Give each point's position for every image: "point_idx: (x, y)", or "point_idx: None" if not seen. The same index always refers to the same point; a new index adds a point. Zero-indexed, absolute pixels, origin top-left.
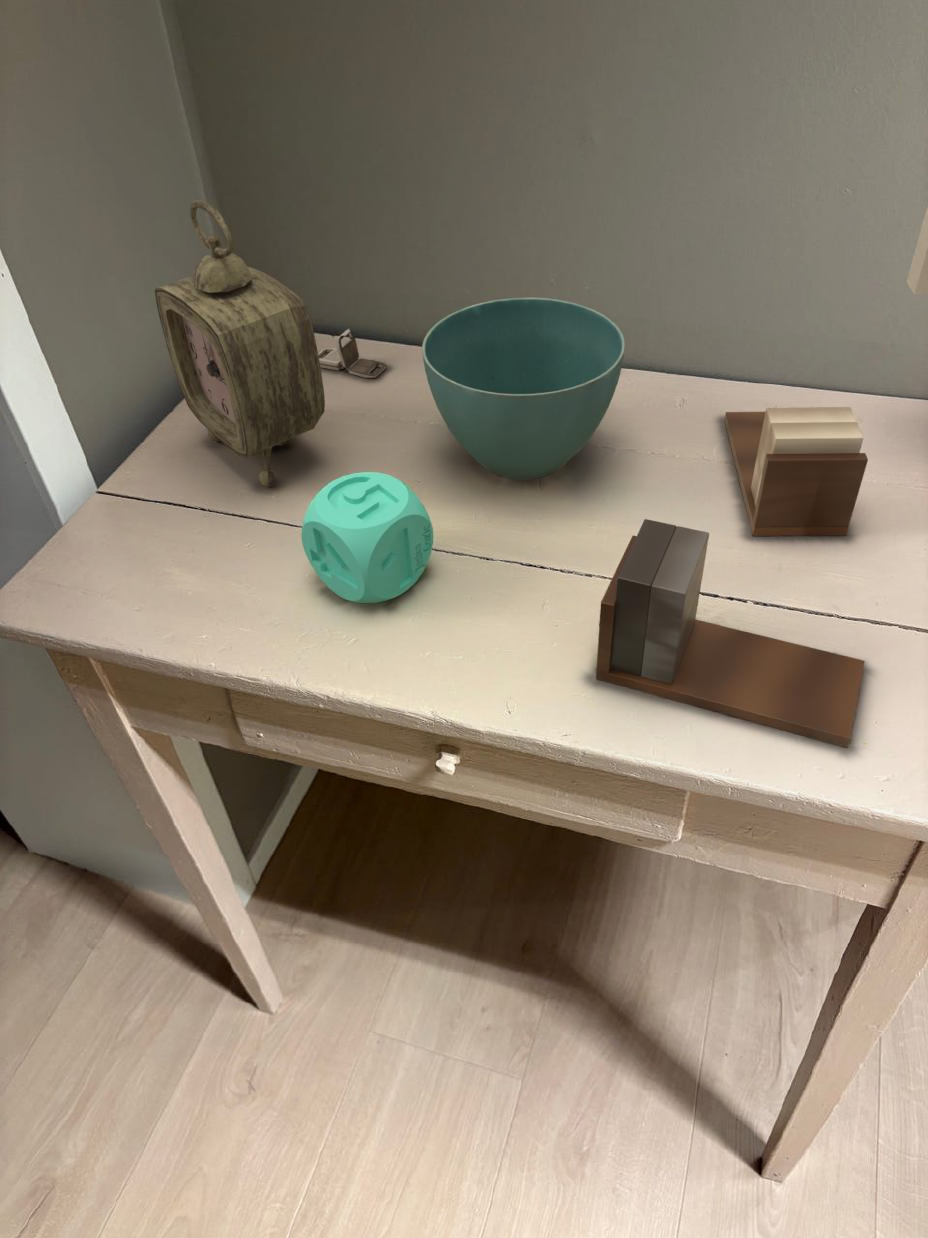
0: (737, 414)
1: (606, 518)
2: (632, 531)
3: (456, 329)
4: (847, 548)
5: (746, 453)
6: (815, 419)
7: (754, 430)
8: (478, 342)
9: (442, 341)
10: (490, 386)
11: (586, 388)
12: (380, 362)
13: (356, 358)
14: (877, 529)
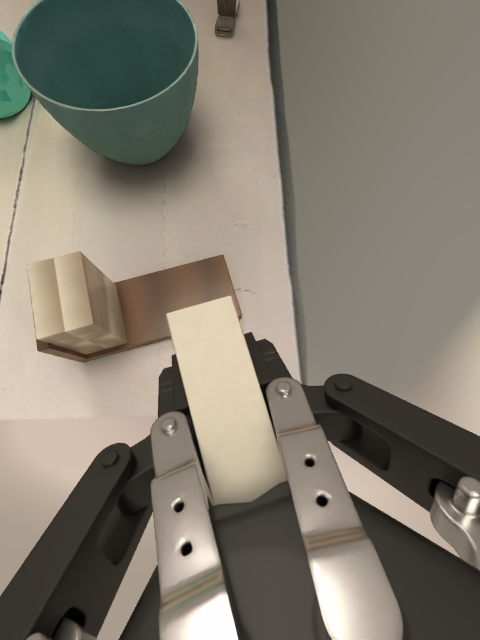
0: (221, 263)
1: (78, 203)
2: (66, 221)
3: (154, 5)
4: (67, 364)
5: (164, 277)
6: (65, 294)
7: (199, 279)
8: (172, 36)
9: (137, 3)
10: (172, 82)
11: (41, 99)
12: (233, 30)
13: (231, 15)
14: (95, 385)
